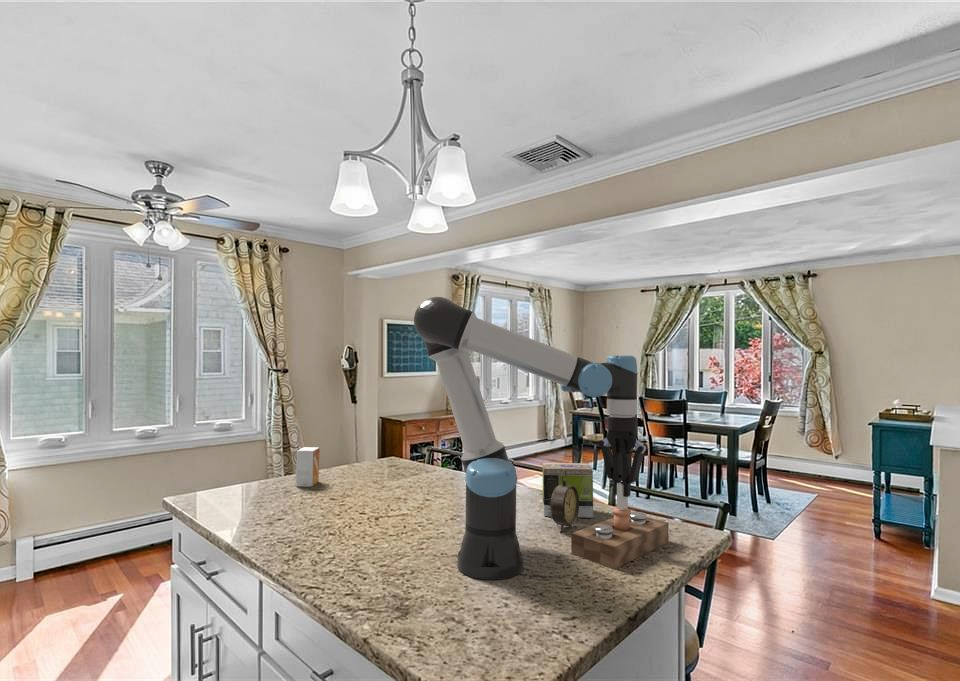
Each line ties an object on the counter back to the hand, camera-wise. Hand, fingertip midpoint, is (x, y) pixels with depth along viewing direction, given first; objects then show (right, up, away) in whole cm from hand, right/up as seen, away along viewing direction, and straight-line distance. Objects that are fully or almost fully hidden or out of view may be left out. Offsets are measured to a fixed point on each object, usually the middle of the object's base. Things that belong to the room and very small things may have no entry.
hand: (622, 508), depth 130 cm
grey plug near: (-6, -8, -6) cm, 12 cm away
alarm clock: (-13, -10, +14) cm, 22 cm away
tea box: (-9, -11, +28) cm, 32 cm away
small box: (-100, -11, +59) cm, 117 cm away
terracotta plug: (0, -5, 0) cm, 5 cm away
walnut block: (0, -10, 0) cm, 10 cm away
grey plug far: (+6, -8, +5) cm, 11 cm away
